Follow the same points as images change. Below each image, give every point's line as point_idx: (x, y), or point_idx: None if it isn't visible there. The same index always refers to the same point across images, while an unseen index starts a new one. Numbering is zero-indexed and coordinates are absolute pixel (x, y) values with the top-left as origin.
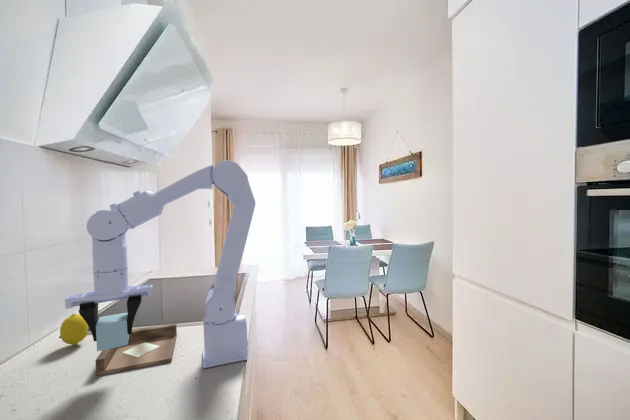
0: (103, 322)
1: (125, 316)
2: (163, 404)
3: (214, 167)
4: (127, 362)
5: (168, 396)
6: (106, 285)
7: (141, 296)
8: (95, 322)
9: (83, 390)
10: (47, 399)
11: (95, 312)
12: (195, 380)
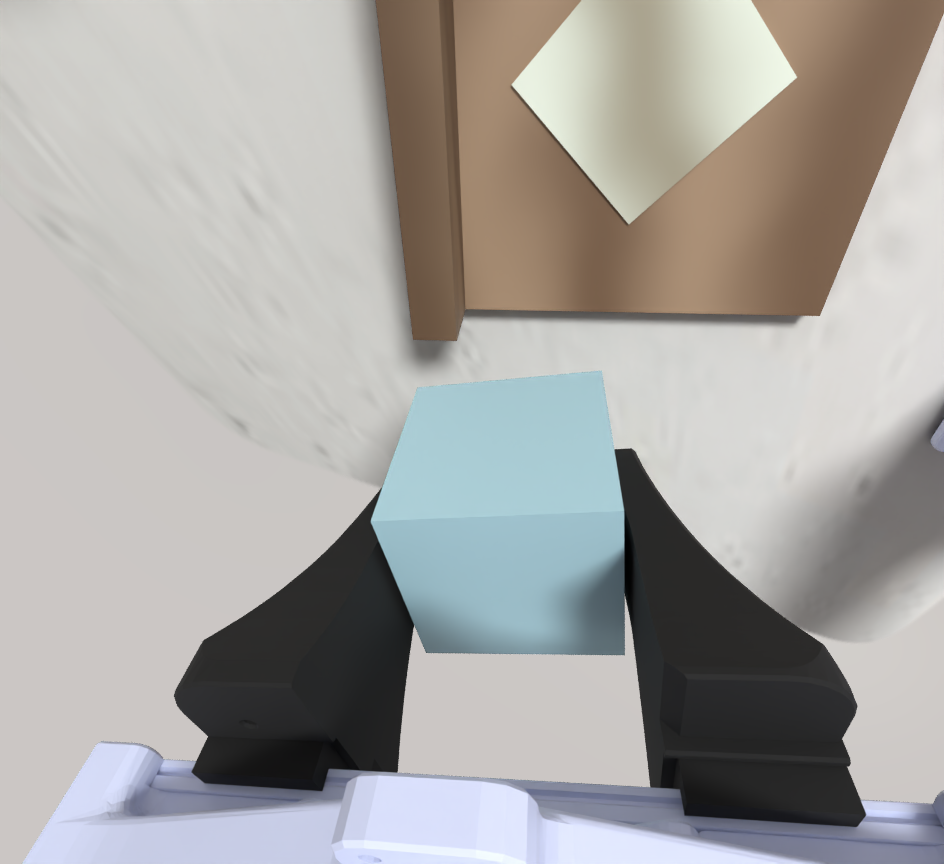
0: (457, 628)
1: (608, 593)
2: None
3: None
4: (569, 265)
5: (731, 541)
6: None
7: (843, 757)
8: (408, 645)
9: None
10: (313, 405)
11: (384, 711)
12: (853, 499)
